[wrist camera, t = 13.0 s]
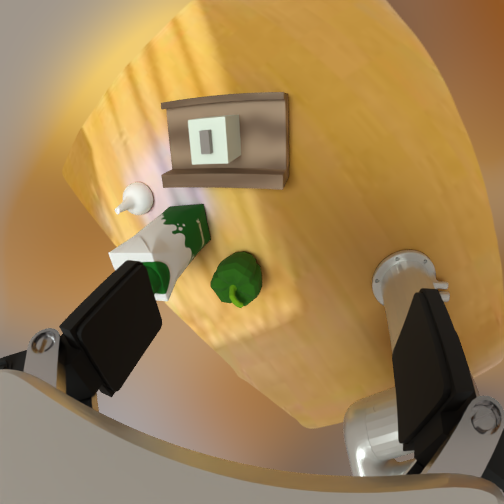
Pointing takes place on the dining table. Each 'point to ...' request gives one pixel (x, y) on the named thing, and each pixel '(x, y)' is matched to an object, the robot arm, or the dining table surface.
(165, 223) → the milk carton
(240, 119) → the shelf
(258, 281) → the bell pepper
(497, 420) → the robot arm
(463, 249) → the dining table surface
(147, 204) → the garlic bulb
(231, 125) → the cabinet
